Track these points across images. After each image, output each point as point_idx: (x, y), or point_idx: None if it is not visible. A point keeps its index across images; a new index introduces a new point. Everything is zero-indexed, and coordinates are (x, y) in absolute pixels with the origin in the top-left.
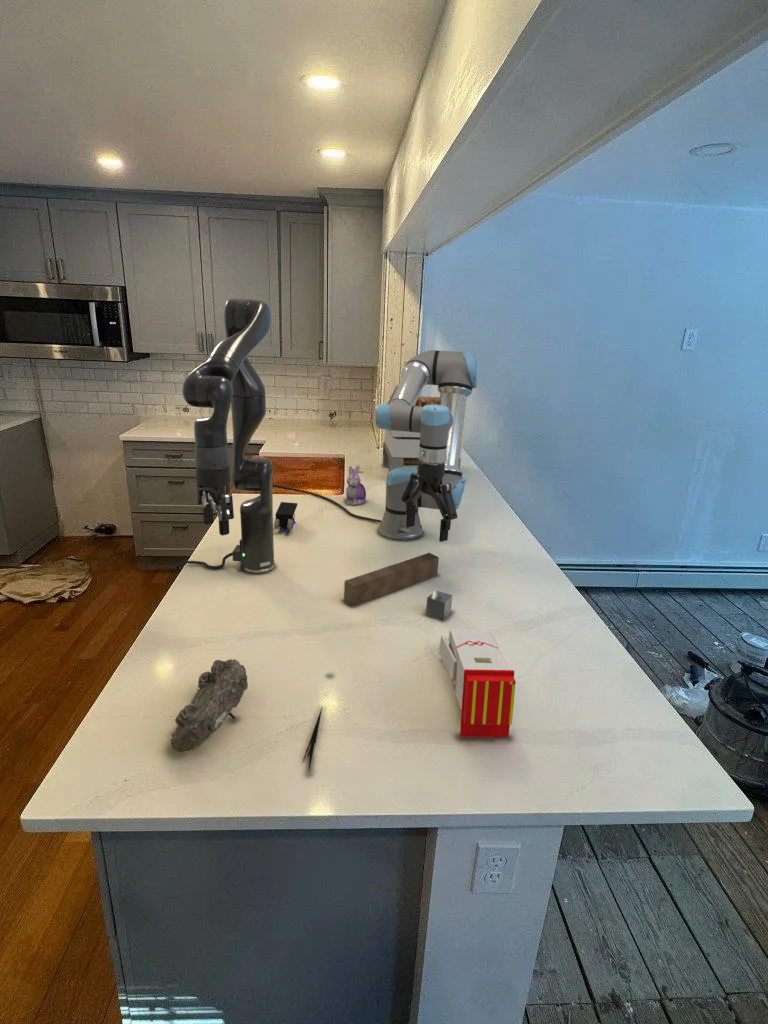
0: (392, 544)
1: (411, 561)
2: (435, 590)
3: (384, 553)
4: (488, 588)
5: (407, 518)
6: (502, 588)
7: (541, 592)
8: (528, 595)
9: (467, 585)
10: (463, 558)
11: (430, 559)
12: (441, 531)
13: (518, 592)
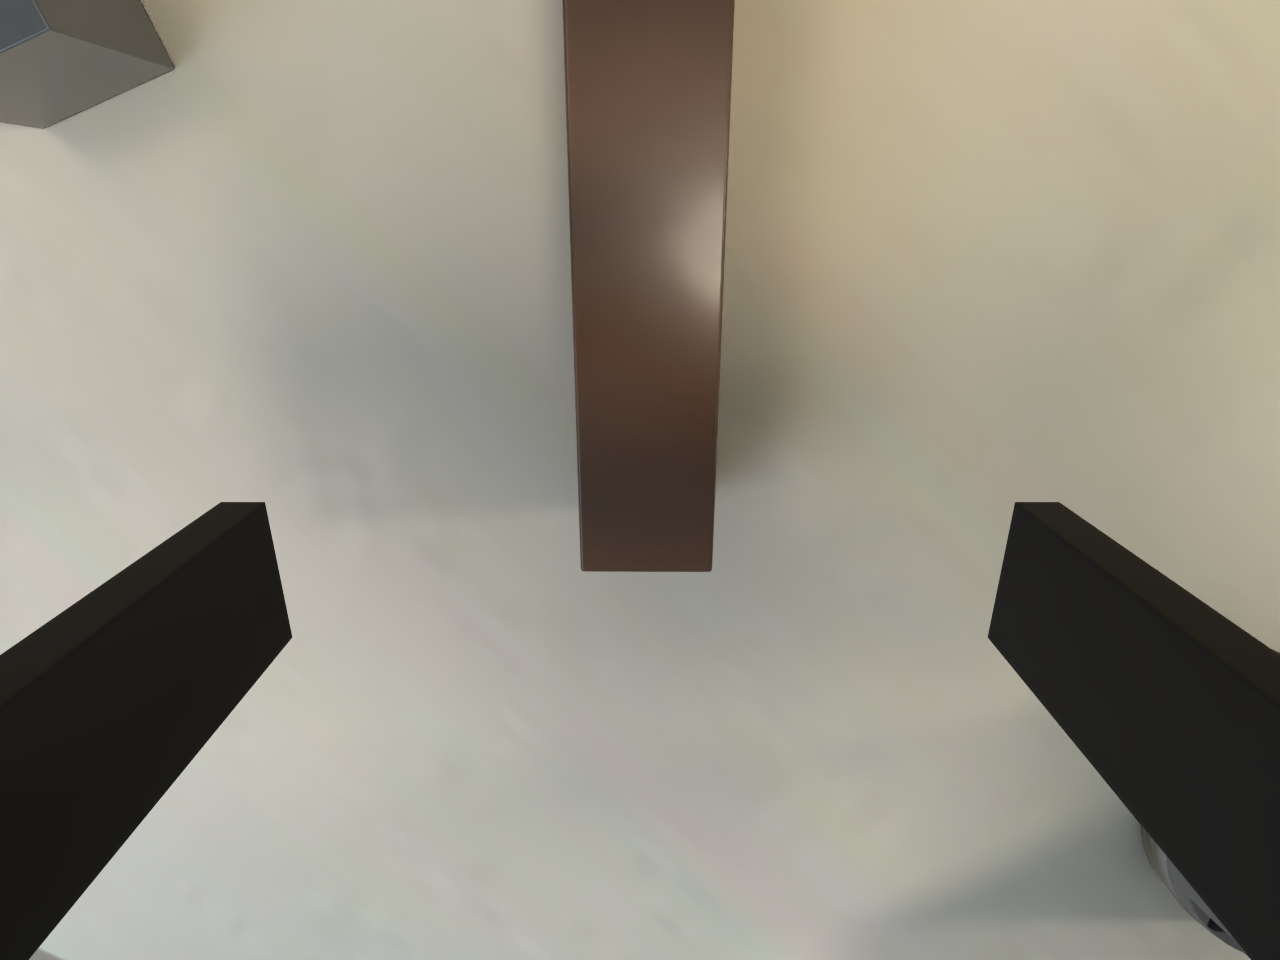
0: (1227, 603)
1: (666, 269)
2: (40, 22)
3: (1171, 435)
4: None
5: (1144, 578)
6: None
7: None
8: None
9: (348, 554)
10: (681, 816)
11: (584, 468)
12: (98, 593)
13: None
